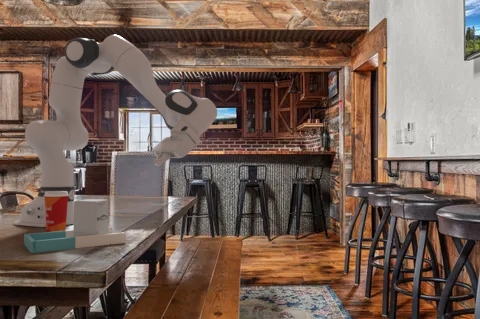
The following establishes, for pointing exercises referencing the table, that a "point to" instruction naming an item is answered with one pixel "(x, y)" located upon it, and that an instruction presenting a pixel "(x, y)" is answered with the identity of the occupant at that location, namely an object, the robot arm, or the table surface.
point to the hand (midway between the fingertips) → (156, 164)
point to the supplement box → (90, 217)
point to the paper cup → (56, 210)
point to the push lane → (69, 240)
